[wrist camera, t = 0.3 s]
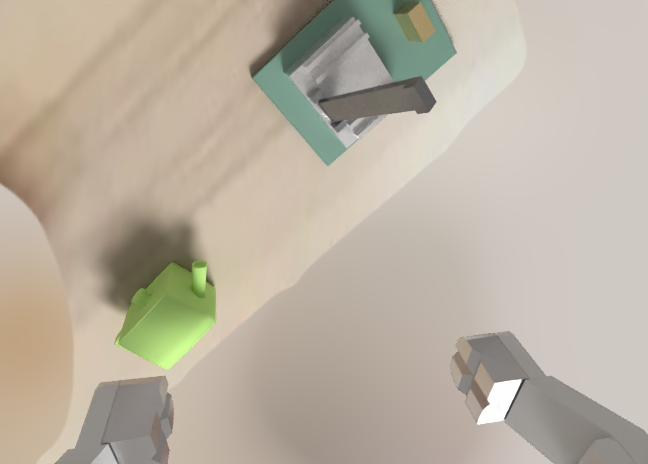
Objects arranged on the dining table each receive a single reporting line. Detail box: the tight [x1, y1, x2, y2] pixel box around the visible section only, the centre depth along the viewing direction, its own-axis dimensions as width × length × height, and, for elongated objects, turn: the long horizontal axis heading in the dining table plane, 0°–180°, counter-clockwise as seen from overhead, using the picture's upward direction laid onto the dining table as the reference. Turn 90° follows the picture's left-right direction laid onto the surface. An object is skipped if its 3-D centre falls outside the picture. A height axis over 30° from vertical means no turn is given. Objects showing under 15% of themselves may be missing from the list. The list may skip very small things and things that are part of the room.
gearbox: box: [114, 261, 216, 370], centre depth 58 cm, size 18×10×10 cm, turn 132°
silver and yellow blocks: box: [284, 2, 435, 148], centre depth 49 cm, size 18×12×6 cm
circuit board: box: [252, 0, 457, 166], centre depth 52 cm, size 24×16×1 cm, turn 128°
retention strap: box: [318, 76, 436, 122], centre depth 42 cm, size 16×3×2 cm
